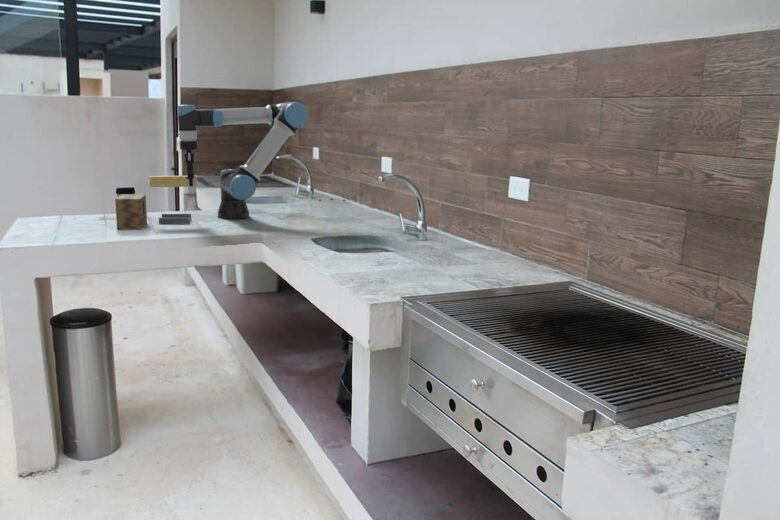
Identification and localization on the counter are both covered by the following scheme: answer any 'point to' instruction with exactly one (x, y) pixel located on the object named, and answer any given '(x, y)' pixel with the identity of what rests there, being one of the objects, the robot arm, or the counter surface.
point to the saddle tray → (175, 219)
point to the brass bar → (170, 181)
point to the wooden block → (131, 211)
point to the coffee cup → (125, 191)
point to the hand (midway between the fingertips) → (191, 192)
